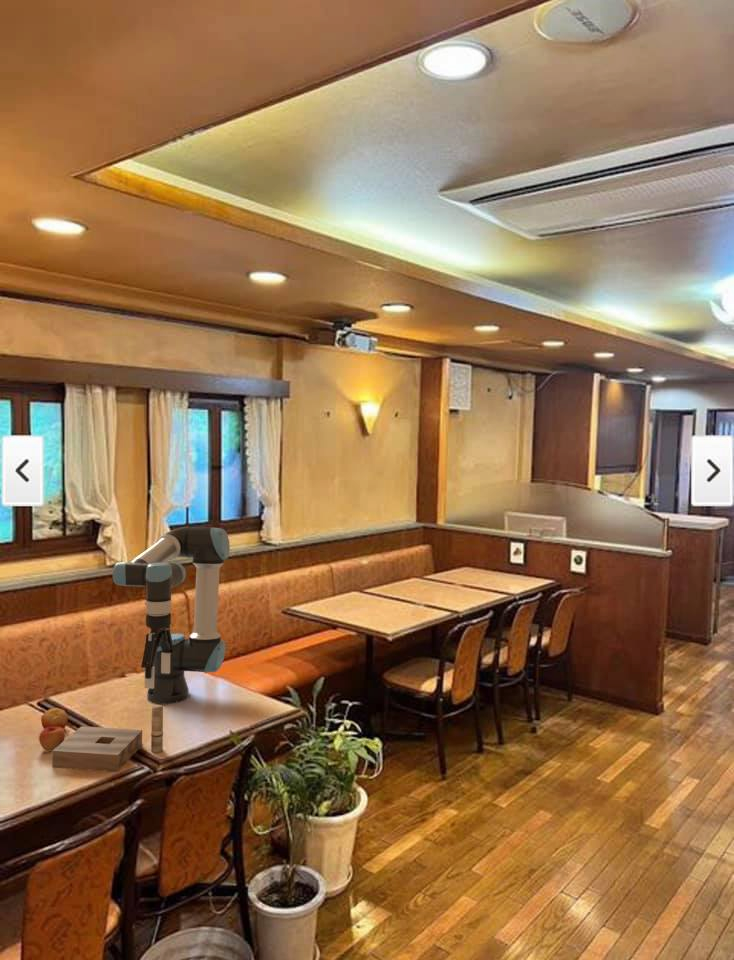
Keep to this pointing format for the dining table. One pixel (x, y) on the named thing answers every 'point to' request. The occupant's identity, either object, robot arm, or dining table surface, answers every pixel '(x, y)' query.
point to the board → (97, 748)
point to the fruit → (54, 718)
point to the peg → (157, 729)
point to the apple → (51, 737)
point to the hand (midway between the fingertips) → (157, 680)
